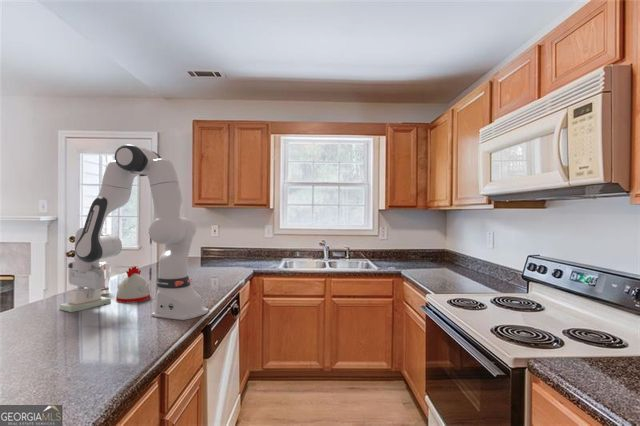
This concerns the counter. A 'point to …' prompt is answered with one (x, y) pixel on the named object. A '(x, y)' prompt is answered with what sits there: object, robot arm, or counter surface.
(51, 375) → the counter surface
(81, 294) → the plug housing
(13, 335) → the counter surface
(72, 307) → the green peg board
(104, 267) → the beer glass
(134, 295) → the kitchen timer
